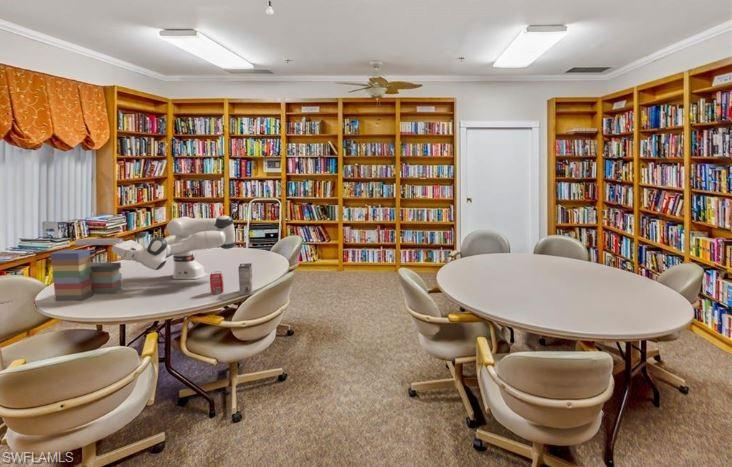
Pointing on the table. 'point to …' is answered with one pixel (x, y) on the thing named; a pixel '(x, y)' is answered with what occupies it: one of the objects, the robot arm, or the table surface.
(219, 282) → the soda can
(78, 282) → the tall book stack
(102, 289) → the short book stack
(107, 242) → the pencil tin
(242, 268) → the coffee box
